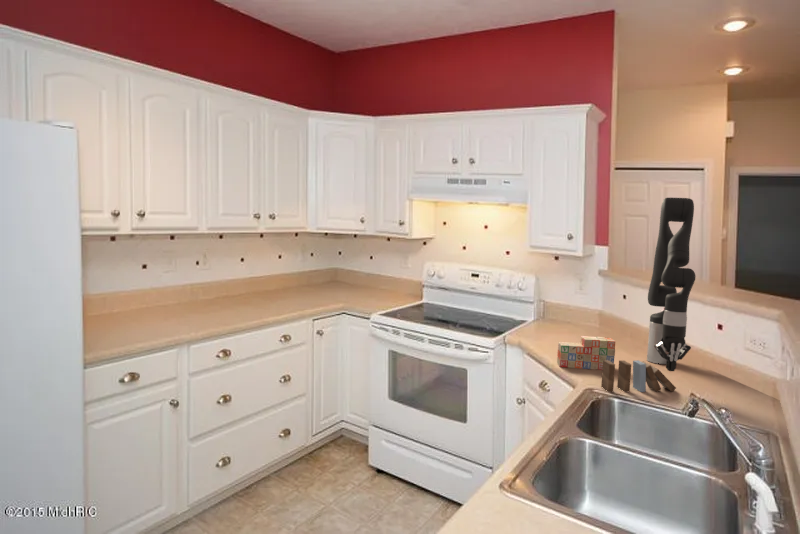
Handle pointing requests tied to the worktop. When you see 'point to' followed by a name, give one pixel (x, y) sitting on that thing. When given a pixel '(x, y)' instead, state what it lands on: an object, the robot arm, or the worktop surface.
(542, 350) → the worktop surface
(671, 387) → the domino
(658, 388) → the domino
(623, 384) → the domino
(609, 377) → the domino end
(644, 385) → the domino
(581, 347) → the stack of blocks
